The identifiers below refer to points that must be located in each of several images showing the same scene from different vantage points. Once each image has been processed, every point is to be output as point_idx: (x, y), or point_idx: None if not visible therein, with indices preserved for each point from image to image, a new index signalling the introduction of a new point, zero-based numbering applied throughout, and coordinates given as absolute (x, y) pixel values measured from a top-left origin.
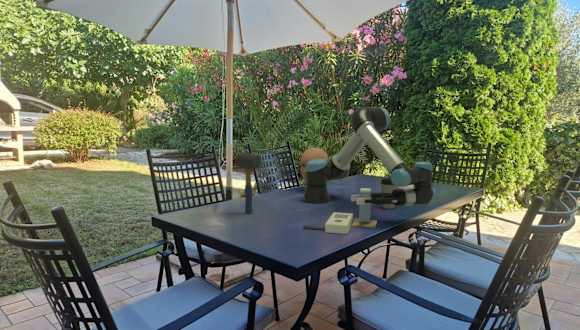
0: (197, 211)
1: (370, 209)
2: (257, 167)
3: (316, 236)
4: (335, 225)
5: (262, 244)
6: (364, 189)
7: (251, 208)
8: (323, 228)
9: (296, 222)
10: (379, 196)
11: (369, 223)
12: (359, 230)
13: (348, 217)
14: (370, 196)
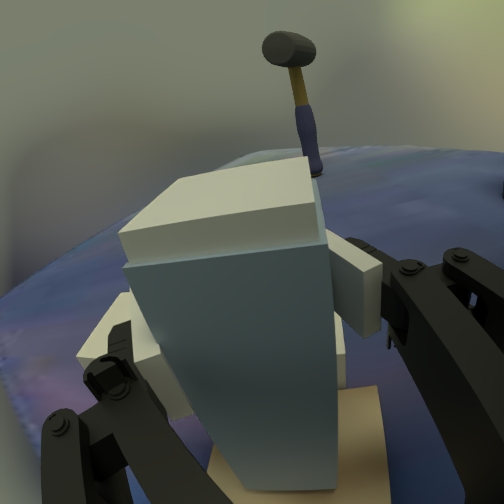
0: (296, 153)
1: (319, 452)
2: (282, 62)
3: (100, 309)
4: (102, 322)
5: (85, 253)
6: (205, 186)
7: (309, 164)
8: None
9: None
10: (490, 462)
11: (273, 494)
12: None
13: None
14: (240, 342)
